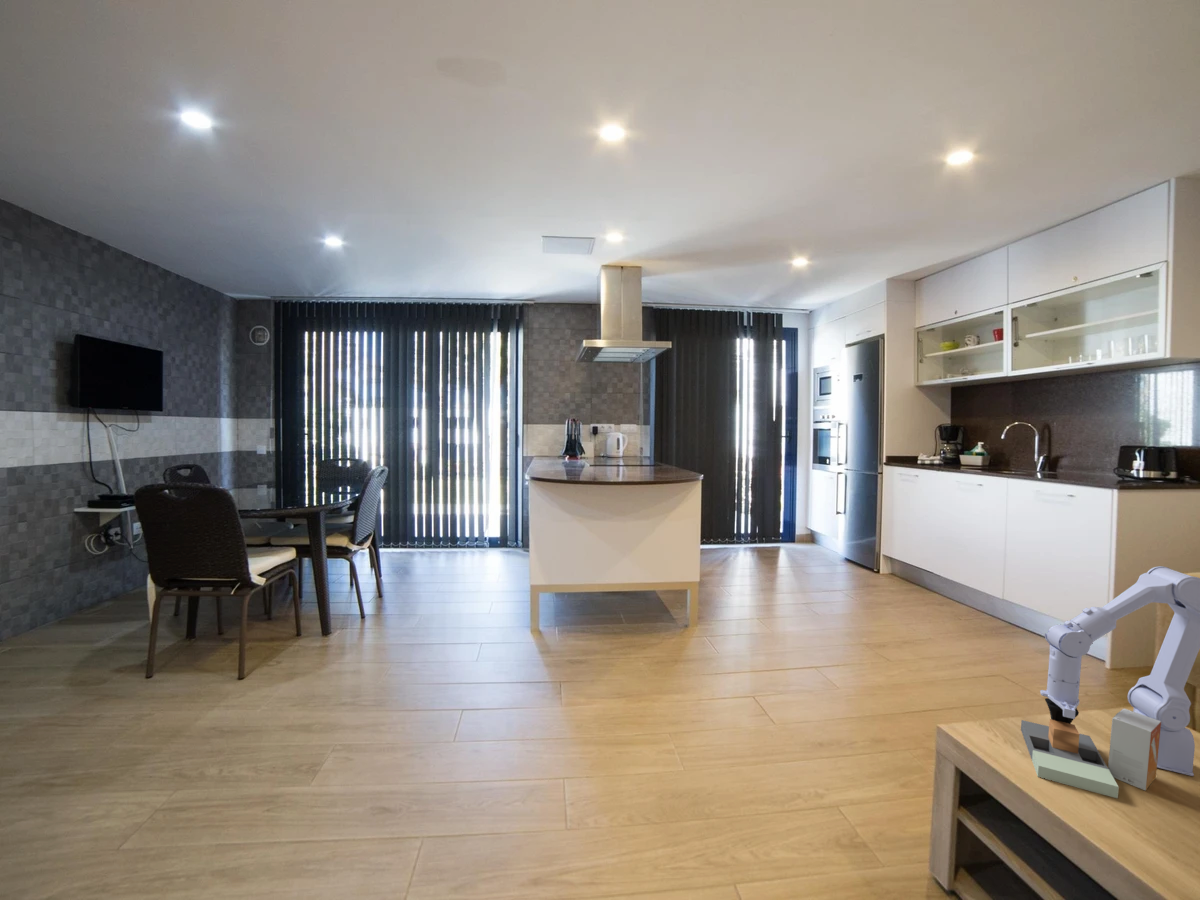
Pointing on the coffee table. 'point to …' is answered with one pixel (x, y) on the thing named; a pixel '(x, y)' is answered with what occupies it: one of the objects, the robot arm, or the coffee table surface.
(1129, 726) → the small box
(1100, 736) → the coffee table surface
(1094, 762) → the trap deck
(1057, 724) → the orange block
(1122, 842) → the coffee table surface
